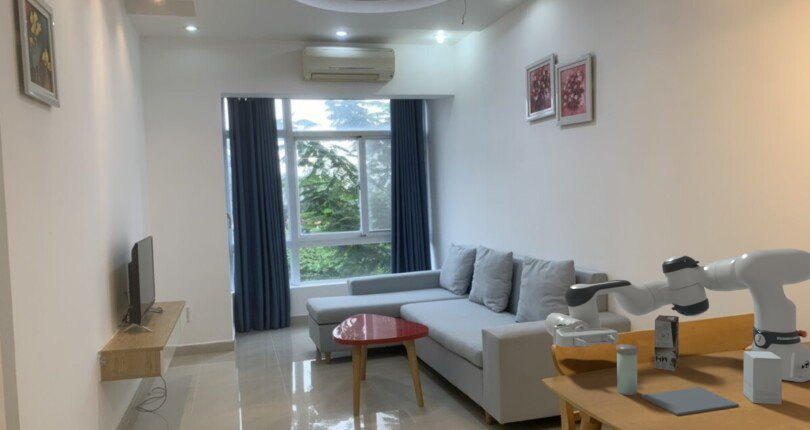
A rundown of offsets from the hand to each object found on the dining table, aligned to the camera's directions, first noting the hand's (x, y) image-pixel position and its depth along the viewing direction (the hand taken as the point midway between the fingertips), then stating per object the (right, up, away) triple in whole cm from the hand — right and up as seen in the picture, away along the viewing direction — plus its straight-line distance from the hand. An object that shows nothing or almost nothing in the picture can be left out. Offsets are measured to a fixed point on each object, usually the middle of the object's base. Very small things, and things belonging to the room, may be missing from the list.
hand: (600, 343), depth 183 cm
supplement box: (+38, -12, -19) cm, 44 cm away
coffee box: (+26, -10, +11) cm, 30 cm away
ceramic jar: (+4, -12, -11) cm, 17 cm away
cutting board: (+18, -12, -20) cm, 29 cm away
